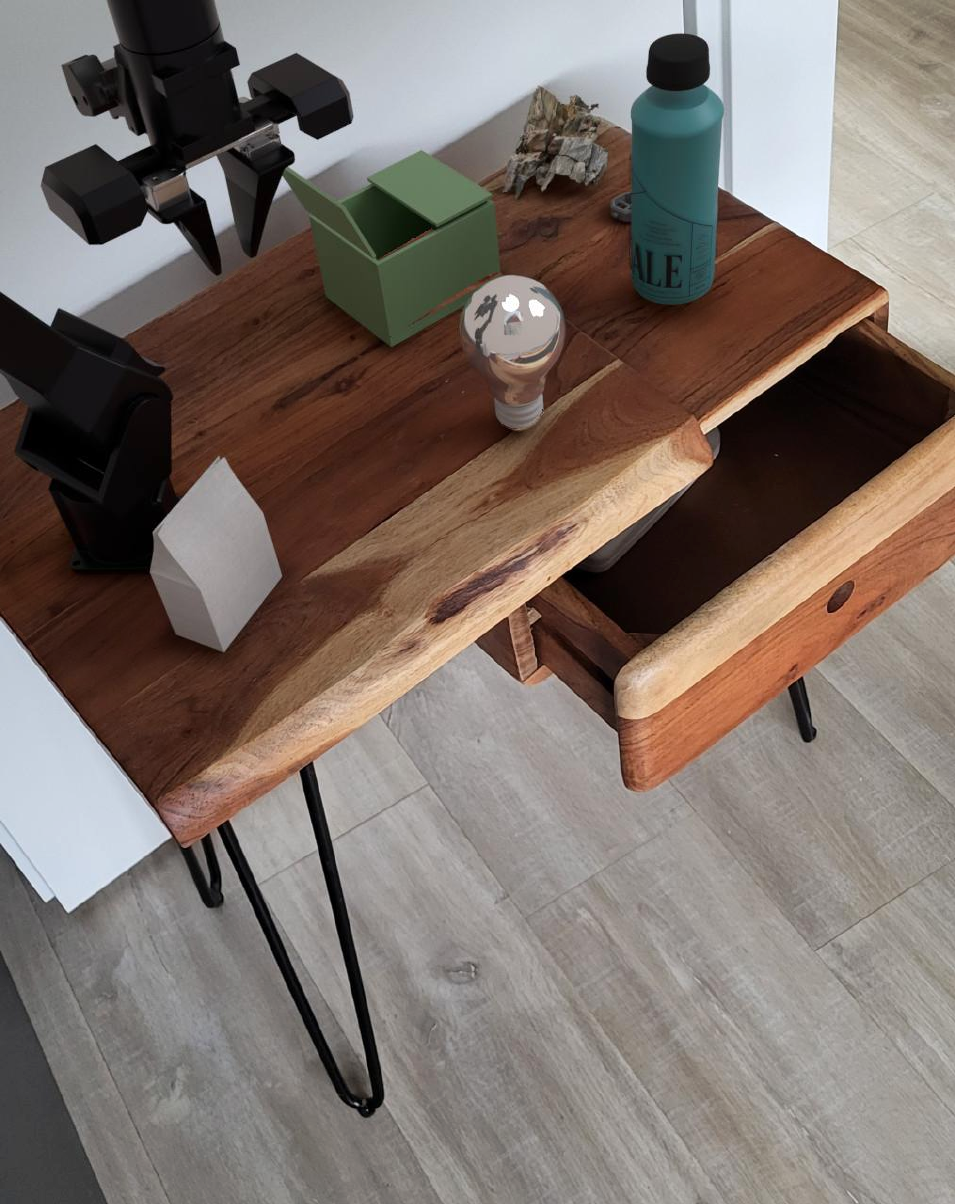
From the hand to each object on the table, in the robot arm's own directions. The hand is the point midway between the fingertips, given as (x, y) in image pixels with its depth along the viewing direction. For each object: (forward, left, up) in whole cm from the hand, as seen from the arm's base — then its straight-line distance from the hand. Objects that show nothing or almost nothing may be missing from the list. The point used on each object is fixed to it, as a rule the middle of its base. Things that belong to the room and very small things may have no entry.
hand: (232, 263), depth 86 cm
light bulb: (+18, -2, -13) cm, 22 cm away
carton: (+9, +14, -13) cm, 21 cm away
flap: (+4, +10, -2) cm, 11 cm away
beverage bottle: (+29, +12, -13) cm, 34 cm away
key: (+28, +27, -13) cm, 41 cm away
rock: (+23, +31, -13) cm, 41 cm away
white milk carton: (0, -18, -13) cm, 22 cm away
